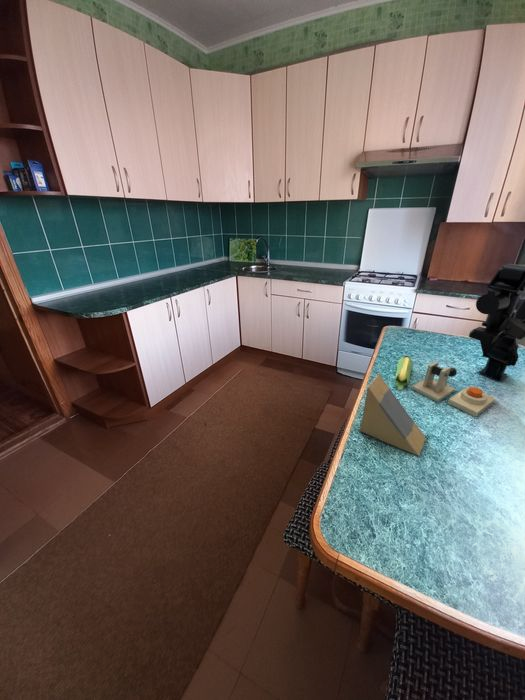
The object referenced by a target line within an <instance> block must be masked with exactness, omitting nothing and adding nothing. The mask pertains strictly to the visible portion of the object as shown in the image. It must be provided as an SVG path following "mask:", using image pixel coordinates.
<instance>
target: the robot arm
mask: <svg viewBox="0 0 525 700" xmlns="http://www.w3.org/2000/svg"><path fill="white" fill-rule="evenodd" d="M486 288H487V289H488V290H487V293H485V294H482V295H481V296H479V297H478V298H477V299H476V302H475V307H476V310H477V311H478V312H479V313H481V314H483V315H487V316H486V319H485V321H483V322H482V323H481V326H478V327H475V328H473V329H471V330H470V332H469V334H468V338H470V339H473V340H477V341H479V343H480V347H481V351H482V357H484V358H486V359H487V361H486V363H485V366H484V368H483V369H481V370H480V371H479V372H478V373H479V374H480V375H482V376H483V375H484V376H485V377H488V378H490V379H493V380H495V381H498V382H499V381H502V379H504V378H505V377H507V376H508V373H505V372H506V370H507V367H510V366H512V367H515V366H516V364H517V362H518V360H519V354H518V350H519V340H520V341H521V340H523V339H525V299H523V301H522V303H521V304H520V306H519V307H518V308H517V310H516V311H515V309H516V306H517V304H518V302H519V300H520V296H521V293H523V292H525V263H523V264H518V263H517V264H516V263H506V264H504V265H502V266H501V267H499V269H498V270H497V272H496V273H495V275H494V276H493V277H492V279H491V280H490V282H489V283H488V285H487V286H486Z"/></svg>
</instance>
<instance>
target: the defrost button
mask: <svg viewBox="0 0 525 700" xmlns="http://www.w3.org/2000/svg"><path fill="white" fill-rule="evenodd" d="M468 387H469V389H468V392H467V394H468V395H469V396H472V397H475V398H481V396H482V393H484V391H483V390H482V389H481V388H479V387H476V386H468Z"/></svg>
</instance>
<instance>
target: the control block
mask: <svg viewBox="0 0 525 700" xmlns="http://www.w3.org/2000/svg"><path fill="white" fill-rule="evenodd" d="M469 387H470V386H466V387H464V388H462V389H461V391H459V392H457V393H455V394H454V395H453V396H451V397H450V398H449V399H448V401H447V404H449V405H450V406H453V407H455V408H457V409H459V410H460V411H463V412H464V413H467V414H468V415H470V416H473V417H475V418H476V417H478V416H479V415H480V414H481V413H483V412H484V411H485V410H487V409H488V408H489V407H490V406H492V405H493V404H494V403H495V401H496V399H497V397H494V396H491V395H489V394H487V393H485V392H483V393H482V396H481V398H475V397H472V396H469V395H468V394H467V392H468V389H469Z"/></svg>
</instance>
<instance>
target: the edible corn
mask: <svg viewBox="0 0 525 700" xmlns="http://www.w3.org/2000/svg"><path fill="white" fill-rule="evenodd" d="M413 368H414V363H413V360H412V358H411V357H410V356H408V355H404V356H402V357H400V359H399V360H397V367H396V373H395V377H394V380H395V386H397V389H398V391H400V390H403V388H405V386H409V384H410V378H411V375H412V372H413Z"/></svg>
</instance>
